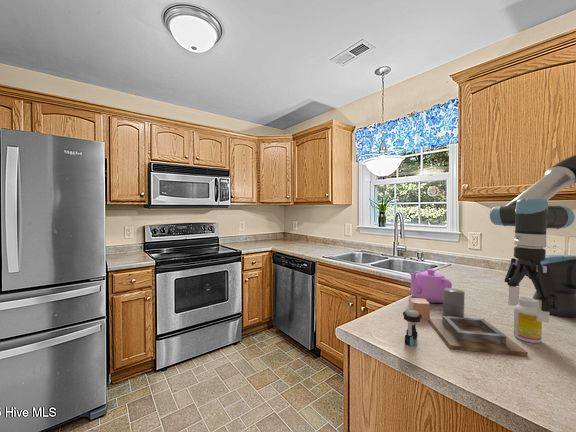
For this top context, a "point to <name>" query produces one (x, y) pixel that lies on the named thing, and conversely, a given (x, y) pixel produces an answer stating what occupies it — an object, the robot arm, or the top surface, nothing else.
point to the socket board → (474, 336)
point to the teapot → (429, 285)
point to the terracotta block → (420, 306)
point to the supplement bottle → (527, 321)
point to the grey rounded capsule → (453, 302)
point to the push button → (411, 326)
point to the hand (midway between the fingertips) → (526, 312)
